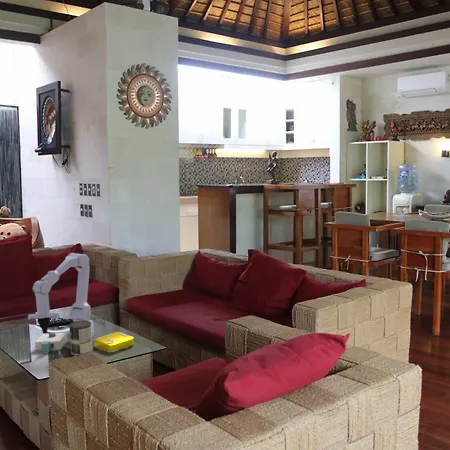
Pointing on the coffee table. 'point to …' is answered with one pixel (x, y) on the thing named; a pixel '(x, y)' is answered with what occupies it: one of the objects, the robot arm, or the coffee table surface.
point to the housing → (52, 341)
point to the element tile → (113, 341)
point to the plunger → (52, 334)
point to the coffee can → (80, 337)
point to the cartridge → (46, 347)
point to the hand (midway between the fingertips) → (45, 332)
